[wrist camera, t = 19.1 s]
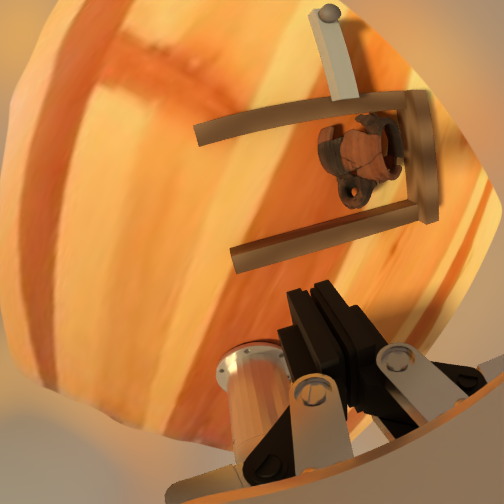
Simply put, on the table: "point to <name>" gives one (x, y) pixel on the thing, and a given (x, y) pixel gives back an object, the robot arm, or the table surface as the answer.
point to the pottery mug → (361, 157)
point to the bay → (360, 224)
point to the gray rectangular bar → (333, 52)
